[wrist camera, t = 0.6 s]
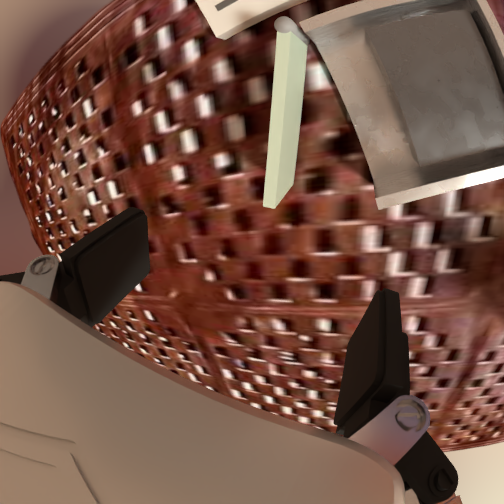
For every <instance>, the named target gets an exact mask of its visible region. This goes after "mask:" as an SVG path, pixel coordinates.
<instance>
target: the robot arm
mask: <svg viewBox="0 0 504 504" xmlns="http://www.w3.org/2000/svg"><path fill="white" fill-rule="evenodd" d="M60 255H61V259H62V261H61V262H60V263H59V261H58V259H57V258H56V257H55V256H52V255H43V256H40V257H37V258H36V259H34V260H32V261H31V262H30V263H29V265H28V267H27V269H26V272H21V273H15V274H9V275H2V276H0V504H462V501H461V499H460V496H456V495H455V493H454V492H455V491H456V488H457V485H458V474H457V471H456V469H455V468H454V466H453V465H452V463H451V462H450V461H449V459H448V458H447V457H446V455H445V454H444V453H443V451H442V450H441V449H440V448H439V446H438V445H437V444H436V442H435V441H434V440H433V439H432V437H431V436H430V435H429V433H428V432H427V431H426V430H427V428H428V427H429V423H430V413H429V411H428V408H427V406H426V405H425V404H424V402H423V401H421V400H420V399H419V398H417V397H415V396H412V395H410V373H409V347H408V336H407V334H406V333H403V332H402V323H401V310H400V299H399V293H398V292H395V291H392V290H389V289H386V288H384V289H383V290H382V291H379V290H378V291H377V292H376V293H375V295H374V297H373V299H372V301H371V303H370V305H369V307H368V308H367V310H366V312H365V314H364V316H363V318H362V319H361V321H360V323H359V325H358V327H357V328H356V330H355V332H354V334H353V335H352V337H351V339H350V341H349V343H348V347H347V352H346V359H345V365H344V371H343V377H342V382H341V388H340V393H339V398H338V403H337V408H336V413H335V417H334V424H335V425H338V426H337V430H336V433H337V434H341V435H344V436H343V437H342V436H340V435H337V434H334V433H331V432H328V431H324V430H321V429H318V428H315V427H312V426H309V425H306V424H302V423H299V422H296V421H293V420H290V419H287V418H284V417H281V416H278V415H275V414H272V413H270V412H267V411H264V410H261V409H258V408H256V407H253V406H250V405H247V404H245V403H242V402H240V401H237V400H234V399H232V398H229V397H227V396H225V395H222V394H220V393H217V392H215V391H213V390H210V389H208V388H206V387H203V386H201V385H199V384H197V383H194V382H192V381H190V380H188V379H186V378H184V377H181V376H179V375H177V374H175V373H173V372H171V371H169V370H167V369H165V368H163V367H161V366H159V365H157V364H155V363H153V362H151V361H149V360H147V359H145V358H144V357H142V356H140V355H138V354H136V353H134V352H132V351H131V350H129V349H127V348H125V347H123V346H122V345H120V344H118V343H117V342H115V341H113V340H111V339H110V338H108V337H106V336H105V335H103V334H101V333H100V332H98V331H96V330H95V329H93V328H92V327H93V326H94V325H95V324H98V323H99V322H101V321H102V320H103V319H104V317H105V316H106V315H107V314H108V313H109V312H110V311H111V310H112V309H113V308H114V307H115V306H116V305H117V304H118V303H119V302H120V301H121V300H122V299H123V298H124V297H125V296H126V295H127V294H128V293H129V292H130V291H131V290H132V289H134V288H135V287H136V286H137V285H138V284H139V283H140V282H141V281H142V280H143V279H144V278H145V277H146V276H147V275H148V273H149V271H150V261H149V245H148V225H147V216H146V215H145V213H144V211H143V210H140V209H137V208H134V207H130V208H128V209H126V210H125V211H123V212H121V213H120V214H118V215H117V216H115V217H114V218H112V219H110V220H109V221H107V222H106V223H104V224H103V225H101V226H100V227H98V228H97V229H95V230H94V231H92V232H91V233H89V234H88V235H86V236H85V237H83V238H82V239H81V240H79V241H78V242H76V243H75V244H73V245H72V246H71V247H69V248H68V249H66V250H65V251H64V252H62V253H61V254H60ZM80 320H81V321H80Z"/></svg>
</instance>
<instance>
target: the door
mask: <svg viewBox="0 0 504 504" xmlns="http://www.w3.org/2000/svg"><path fill="white" fill-rule="evenodd" d="M274 27H275V29H276V30H277V40H276V53H275V66H274V79H273V92H272V104H271V117H270V129H269V142H268V154H267V166H266V178H265V189H264V201H263V206H264V207H269V208H274V209H275V207H276V206H277V205H278V204H279V202H280V201H281V200H282V198H283V197H284V196H285V194H286V193H287V192H288V190H289V189H290V188H291V186H292V185H293V182H294V174H295V166H296V157H297V148H298V140H299V130H300V121H301V111H302V101H303V91H304V80H305V69H306V57H307V46H308V45H309V43H310V39H309V37H308V36H307V35H306V34H305V33H304V32H303V31H302V30H301V29H300V28H299V27H298V26H297V25H296V24H295V23H294V22H293V21H292V20H291V19H290V18H289V17H285V16H282V17H279V18H277V19H276V20H275V23H274Z"/></svg>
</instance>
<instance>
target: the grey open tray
mask: <svg viewBox="0 0 504 504" xmlns="http://www.w3.org/2000/svg"><path fill="white" fill-rule="evenodd" d="M299 24H300V25H301V27H302V29H303V31H304V32H305V33H306V35H307V36H308V37H309V38H310V39H311V40H312V41H313V42H314V43H315V44H316V46H317V48H318V50H319V52H320V54H321V55H322V57H323V59H324V61H325V63H326V65H327V67H328V69H329V71H330V73H331V75H332V77H333V80H334V82H335V84H336V86H337V88H338V90H339V93H340V95H341V97H342V99H343V101H344V104H345V106H346V108H347V111H348V113H349V115H350V118H351V120H352V123H353V125H354V128H355V130H356V133H357V135H358V138H359V141H360V143H361V146H362V149H363V151H364V154H365V157H366V160H367V163H368V165H369V168H370V171H371V174H372V177H373V183H374V191H375V199H376V202H377V206H378V209H379V210H380V209H383V208H387V207H391V206H395V205H399V204H403V203H406V202H410V201H414V200H418V199H422V198H426V197H430V196H434V195H437V194H441V193H445V192H449V191H453V190H457V189H461V188H465V187H469V186H473V185H477V184H481V183H485V182H489V181H493V180H497V179H501V178H504V35H503V33H502V31H501V29H500V27H499V24H498V22H497V20H496V18H495V16H494V14H493V12H492V10H491V9H490V7H489V5H488V3H487V1H486V0H362V1H359V2H355V3H352V4H349V5H345V6H342V7H339V8H336V9H333V10H330V11H327V12H324V13H322V14H319V15H316V16H313V17H311V18H308V19H306V20H303V21H301V22H299Z"/></svg>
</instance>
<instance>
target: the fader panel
mask: <svg viewBox="0 0 504 504" xmlns="http://www.w3.org/2000/svg"><path fill="white" fill-rule="evenodd" d="M195 1H196V2H197V4H198V6H199V7H200V9H201V11H202V13H203V14H204V16H205V18H206V20H207V21H208V23H209V25H210V27H211V28H212V30H213V32H214V34H215V36H216V37H217V38H220V39H224V40H226V39H228V38H230V37H231V36H233V35H235V34H237V33H239V32H241V31H242V30H244V29H246V28H248V27H250V26H252V25H254V24H256V23H258V22H260V21H262V20H264V19H266V18H268V17H271V16H273V15H275V14H277V13H279V12H282V11H284V10H286V9H289V8H291V7H293V6H296V5H298V4H301V3H303V2H306V1H308V0H195Z"/></svg>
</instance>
